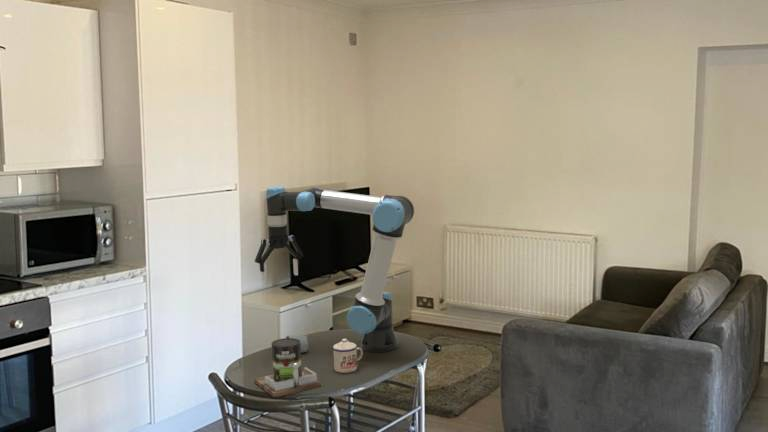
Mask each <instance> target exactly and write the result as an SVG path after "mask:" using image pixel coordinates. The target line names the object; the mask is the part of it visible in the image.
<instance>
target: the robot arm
mask: <svg viewBox="0 0 768 432" xmlns="http://www.w3.org/2000/svg"><path fill="white" fill-rule="evenodd" d="M265 192H266V193H265V194H266V198H265V201H266V211H267V225H268V227H267V231H268V238H261V241H260V246H259V249H258V250H257V251H258V252H257V254H256V256H255V259H254V262H255V263H257V264H259V271H260V272H261V275H262V280H264V281H268V277H267V273H268V272H267V264H266V260H268V258H269V257H270V255H271V254H272V252H273V251H274V250H279V249H284V248H285V249H286V251H288V252H289V254H291V255H292V256H293V259H292V265H293V266H292V267H293V275H294V276H299V267H300V260H301V258H304V253H303V251H302V249H301V248H300V245H298V243H297V240H296V236H295V235H293V234H291V235H288V226H287V224H288V219H287V211H293V212H294V211H295V212H297V211H298V212H307V211H308V212H309V211H311V212H312V210H313V209H314V208H318V209H319V208H320V209H327V210H334V211H340V212H341V211H342V212H349V213H356V214H365V215H371V219H372V223H373V225H372V231H373V233H374V237H373V241H372V245H371V249H370V253H369V257H368V262H367V266H366V268H365V269H366V270H365V274H364V277H363V281H362V285H361V289H360V292H359V291H358V292H357V293H356V294H355V297H354V302H353V305H352V307H351V308H350V309H349V310H348V312H347V314H346V315H347V316H346V320H347V324H348V326H349V328H350V329H351V330H352V331H353V332H355V333H357V334H358V335H359V334H360V335H362V338H361V340H360V348H361V349H362V350H363V351H365V352H369V353H370V352H371V353H385V352H391V351H393V350H396V349H397V348H398V346H399V343H398V342H399V341H398V338H397V336H396V333H395V330H394V326H393V325H394V321H393V320H394V318H393V298H392V294H391V292H388V291H385V287H386V284H387V280H388V276H389V271H390V267H391V264H392V261H393V257H394V252H395V248H396V245H397V242H398V240H399V239H402V238H403V233H404V229H405V226H406V225H407V224H409V223H410V222H411V221H412V219H413V217H414V214H415V207H414V204H413V202H412V201H411V200H410V199H409V198H408V197H406V196H402V195H390V194H389V195H388V194H384V195H383V196H376V195H369V194H360V193H353V192H352V193H351V192H344V191H337V190H330V189H329V190H328V189H322V188H320V187H310V188H308V189H303V190H300V191H286V189H285V186H280V185H279V186H270V187H267V188H266V191H265ZM288 242H290V243H291V244H292V246H293V247H294V249H293V248H292V247H291V246H290V245H289V244H288ZM268 244H269V245H268ZM267 245H268V247H267V249H266V246H267ZM265 250H266V251H265Z"/></svg>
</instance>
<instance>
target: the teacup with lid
mask: <svg viewBox="0 0 768 432" xmlns="http://www.w3.org/2000/svg"><path fill="white" fill-rule="evenodd" d="M332 350H333V366H334V367H333V369H334V371H335V372H337V373H342V374H344V373H345V374H347V373H352V372H355V371H356V370H357V369H358V361H360V360H361V359H362V357H363V354H364V353H363V351H364V350H363V349H362V348H361V347H358V346H357V344H356V343H354V342H351V341H349V340H348V339H347V338H342V339H341V340H340V341H339V342H338V343H335V344H334V345H333V347H332ZM358 351H359V355H358V354H357V353H358Z"/></svg>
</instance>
